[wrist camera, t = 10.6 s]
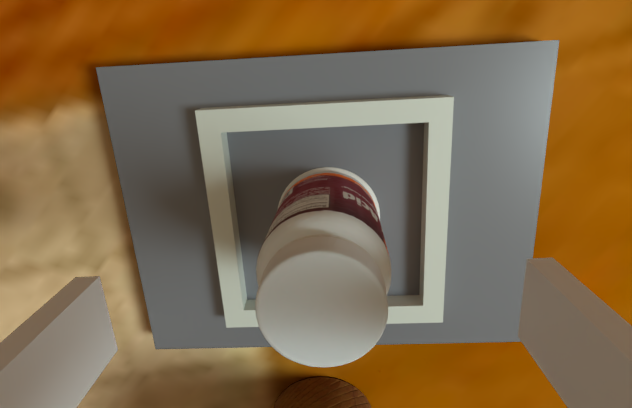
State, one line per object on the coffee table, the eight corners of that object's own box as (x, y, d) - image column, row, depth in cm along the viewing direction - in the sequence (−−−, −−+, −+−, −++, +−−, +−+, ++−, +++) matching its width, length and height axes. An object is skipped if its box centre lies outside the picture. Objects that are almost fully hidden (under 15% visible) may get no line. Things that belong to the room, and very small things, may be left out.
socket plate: (165, 332, 25) (148, 361, 23) (112, 66, 20) (83, 67, 18) (511, 324, 24) (530, 353, 21) (542, 41, 19) (571, 38, 17)
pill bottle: (393, 235, 21) (428, 344, 13) (308, 274, 21) (291, 399, 14) (349, 150, 19) (357, 211, 11) (260, 196, 20) (211, 282, 12)
